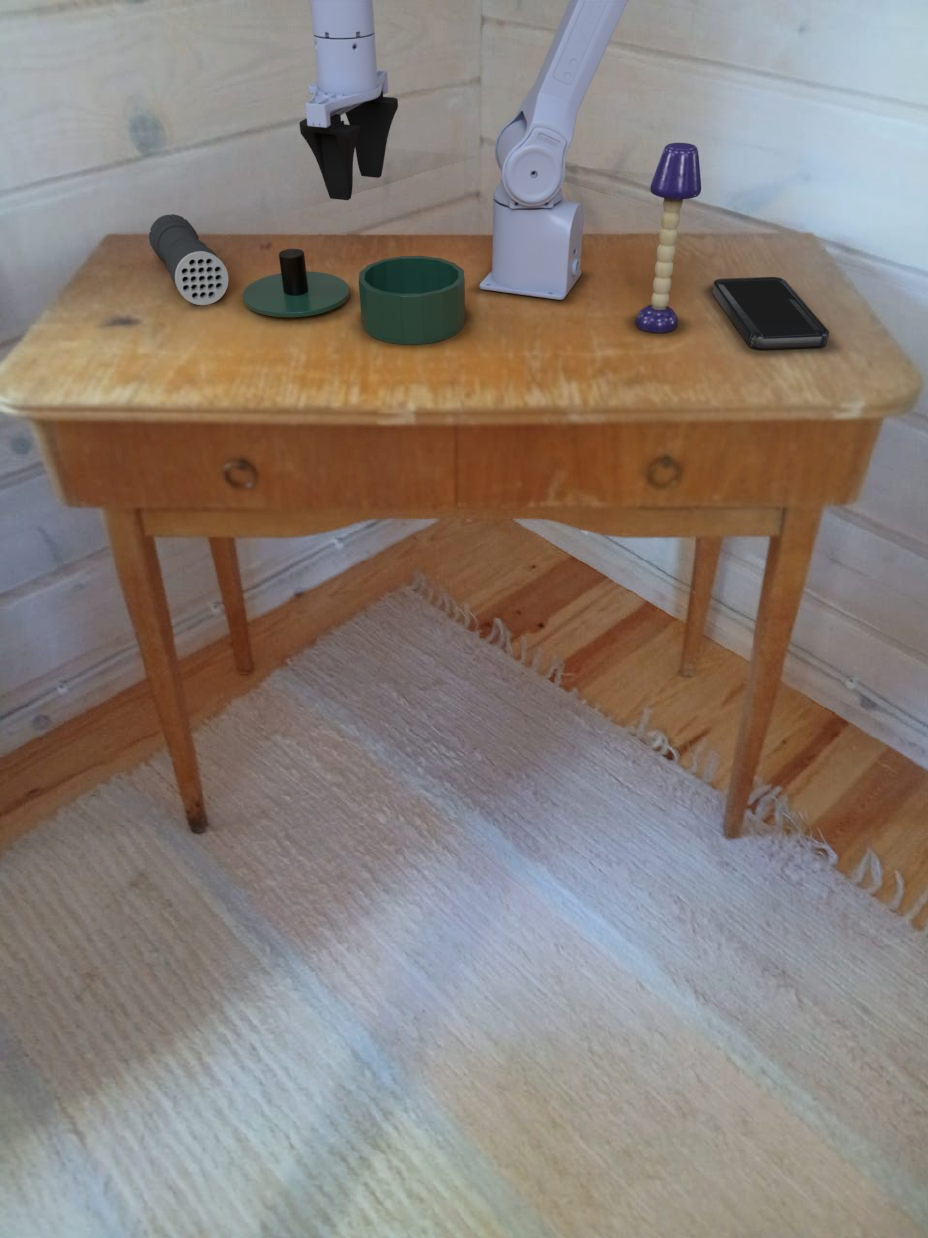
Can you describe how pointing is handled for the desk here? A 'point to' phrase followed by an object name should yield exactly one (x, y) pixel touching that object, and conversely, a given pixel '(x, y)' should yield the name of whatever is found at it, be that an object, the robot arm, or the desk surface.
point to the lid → (295, 290)
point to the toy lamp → (669, 228)
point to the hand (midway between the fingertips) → (356, 186)
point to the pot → (412, 299)
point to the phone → (769, 313)
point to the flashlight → (188, 260)
